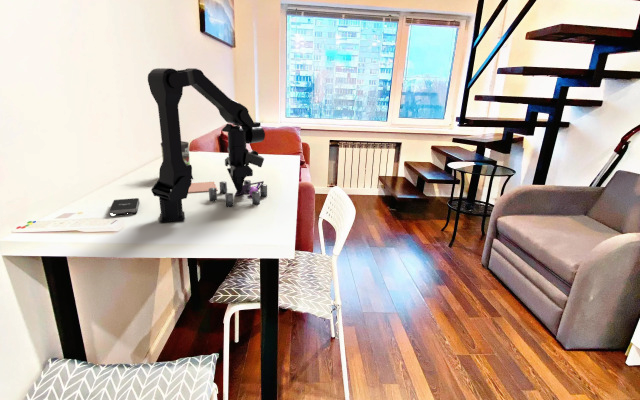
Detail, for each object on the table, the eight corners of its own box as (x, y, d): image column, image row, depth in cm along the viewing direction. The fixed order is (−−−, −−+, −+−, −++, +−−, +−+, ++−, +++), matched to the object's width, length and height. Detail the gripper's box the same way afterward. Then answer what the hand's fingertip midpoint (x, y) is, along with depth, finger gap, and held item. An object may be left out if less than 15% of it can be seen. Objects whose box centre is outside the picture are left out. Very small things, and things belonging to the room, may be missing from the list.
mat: (217, 191, 125) (217, 190, 125) (188, 193, 121) (187, 192, 121) (214, 183, 135) (214, 181, 135) (186, 184, 132) (186, 183, 131)
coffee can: (195, 175, 146) (193, 141, 142) (182, 181, 136) (179, 145, 132) (173, 173, 148) (170, 140, 143) (158, 179, 138) (154, 143, 134)
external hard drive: (109, 217, 98) (108, 211, 97) (114, 205, 108) (113, 199, 107) (137, 215, 101) (136, 208, 100) (139, 203, 110) (139, 197, 110)
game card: (233, 192, 121) (256, 188, 126) (239, 205, 120) (262, 200, 125) (239, 183, 116) (262, 179, 121) (244, 197, 115) (268, 192, 120)
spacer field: (273, 203, 114) (273, 191, 113) (212, 208, 107) (211, 196, 106) (261, 189, 129) (261, 179, 128) (207, 193, 122) (206, 182, 121)
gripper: (268, 149, 107) (268, 197, 112) (255, 140, 124) (256, 182, 129) (231, 150, 103) (233, 200, 108) (223, 141, 120) (225, 184, 125)
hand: (238, 191), depth 117 cm, fingers closed on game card, 3 cm apart
